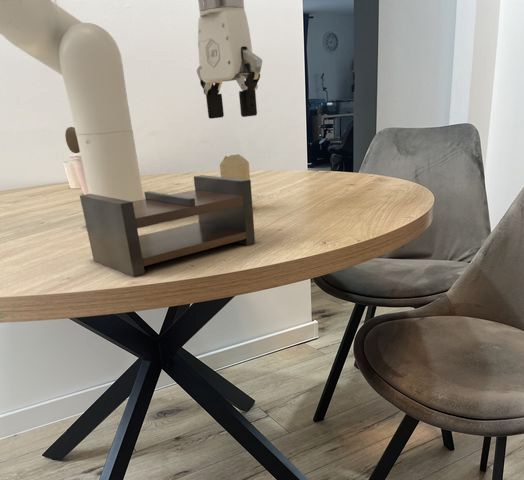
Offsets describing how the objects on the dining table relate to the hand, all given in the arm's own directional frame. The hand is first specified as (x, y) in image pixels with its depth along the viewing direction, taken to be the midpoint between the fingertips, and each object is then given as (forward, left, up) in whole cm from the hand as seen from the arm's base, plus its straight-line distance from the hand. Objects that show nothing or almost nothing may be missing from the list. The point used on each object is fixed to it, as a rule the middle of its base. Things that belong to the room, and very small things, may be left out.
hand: (232, 117), depth 93 cm
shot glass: (-69, -3, -17) cm, 71 cm away
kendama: (-40, -10, -17) cm, 45 cm away
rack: (+17, -25, -17) cm, 35 cm away
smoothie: (-53, -7, -17) cm, 56 cm away
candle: (0, 0, -17) cm, 17 cm away
